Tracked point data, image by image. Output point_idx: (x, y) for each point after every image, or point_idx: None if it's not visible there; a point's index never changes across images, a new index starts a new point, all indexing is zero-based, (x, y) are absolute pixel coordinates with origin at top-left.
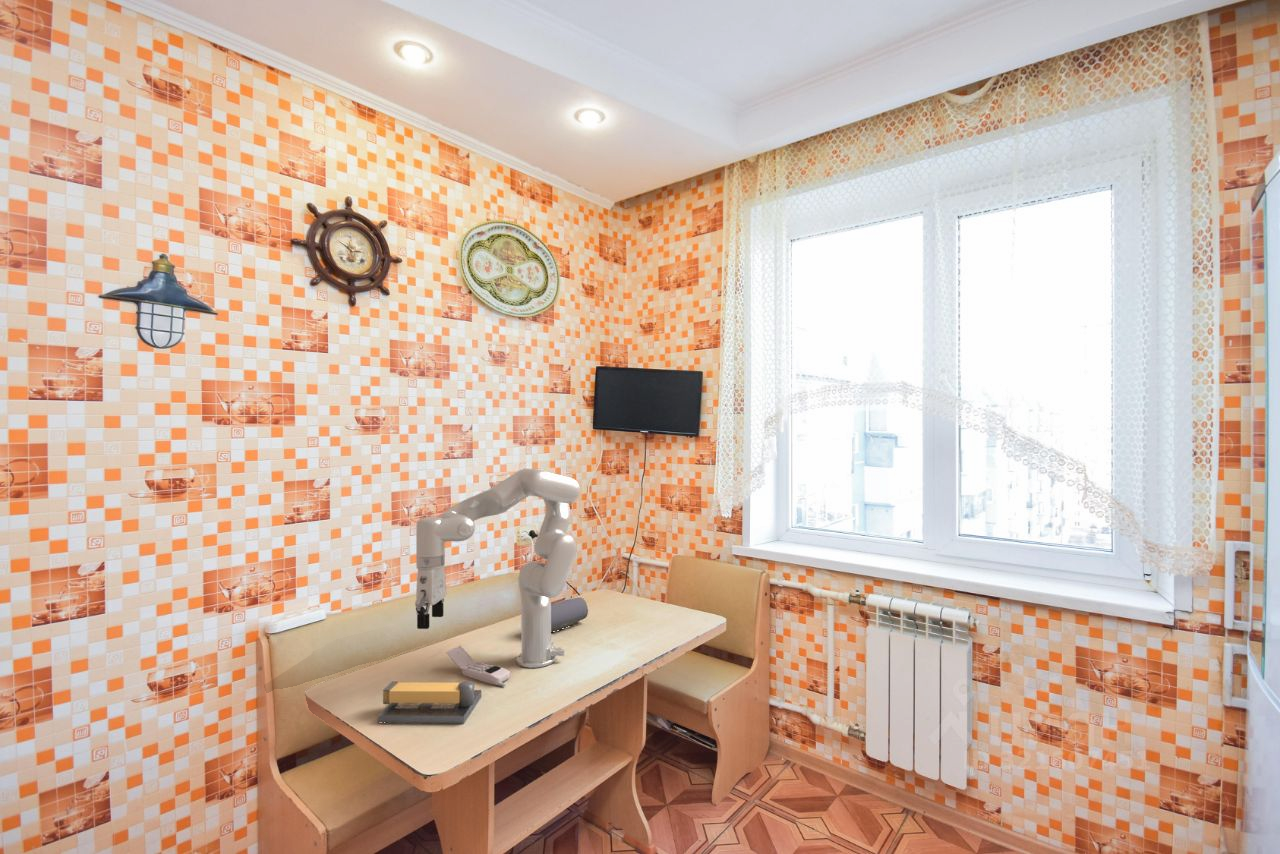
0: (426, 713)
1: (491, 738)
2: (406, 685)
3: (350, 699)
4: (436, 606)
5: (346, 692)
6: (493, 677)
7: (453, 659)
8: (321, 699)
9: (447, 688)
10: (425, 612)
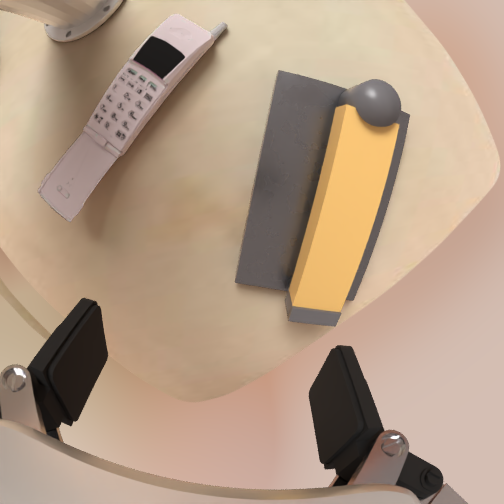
0: (380, 201)
1: (450, 72)
2: (320, 280)
3: (230, 360)
4: (74, 390)
5: (200, 371)
6: (203, 46)
7: (89, 190)
8: (224, 392)
9: (374, 158)
10: (404, 449)
